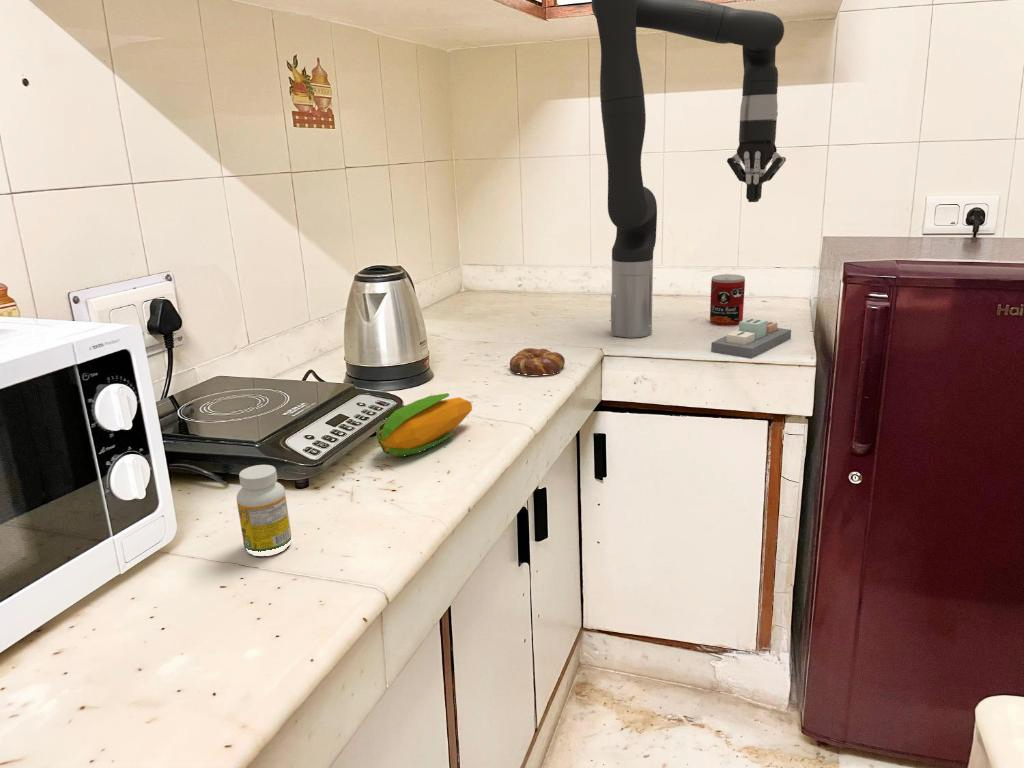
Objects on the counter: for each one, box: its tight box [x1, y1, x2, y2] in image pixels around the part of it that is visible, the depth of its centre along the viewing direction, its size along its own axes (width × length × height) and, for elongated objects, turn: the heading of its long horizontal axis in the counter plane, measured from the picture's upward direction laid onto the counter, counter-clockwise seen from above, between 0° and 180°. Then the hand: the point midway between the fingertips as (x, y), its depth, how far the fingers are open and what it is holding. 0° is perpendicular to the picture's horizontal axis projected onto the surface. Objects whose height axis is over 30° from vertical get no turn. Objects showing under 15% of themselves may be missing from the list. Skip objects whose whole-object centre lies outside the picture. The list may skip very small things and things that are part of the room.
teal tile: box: [738, 317, 768, 340], centre depth 164 cm, size 4×4×4 cm
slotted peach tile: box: [766, 321, 778, 334], centre depth 168 cm, size 4×4×4 cm
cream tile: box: [726, 330, 755, 345], centre depth 160 cm, size 4×4×4 cm
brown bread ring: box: [509, 347, 566, 376], centre depth 154 cm, size 12×11×4 cm
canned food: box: [709, 273, 746, 326], centre depth 183 cm, size 8×8×11 cm
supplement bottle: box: [236, 464, 292, 552], centre depth 88 cm, size 5×5×10 cm
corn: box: [376, 392, 473, 457], centre depth 118 cm, size 7×8×20 cm
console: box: [710, 327, 792, 359], centre depth 164 cm, size 9×19×2 cm, turn 138°
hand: (753, 201), depth 168 cm, fingers closed
